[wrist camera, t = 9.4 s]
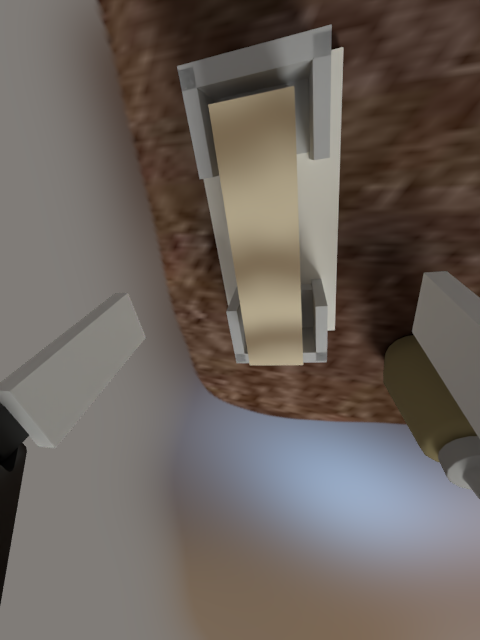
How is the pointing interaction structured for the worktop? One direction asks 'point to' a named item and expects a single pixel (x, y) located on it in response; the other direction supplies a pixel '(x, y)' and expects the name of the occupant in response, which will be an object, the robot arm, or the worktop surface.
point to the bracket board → (312, 162)
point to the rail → (263, 219)
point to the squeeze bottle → (432, 412)
